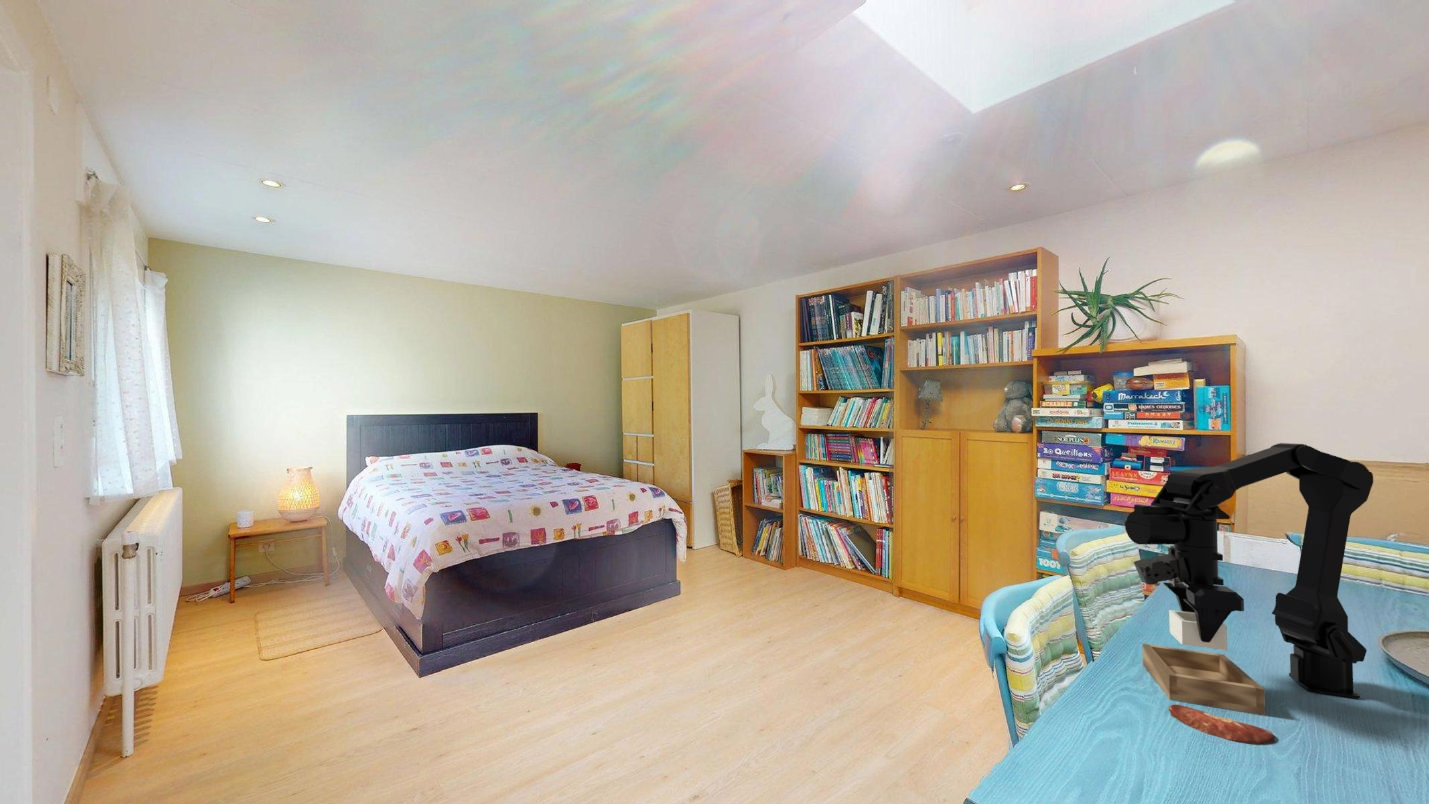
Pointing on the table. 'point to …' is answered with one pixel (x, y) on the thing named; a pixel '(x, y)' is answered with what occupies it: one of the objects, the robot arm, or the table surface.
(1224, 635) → the cream crate
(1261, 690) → the walnut crate
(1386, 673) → the table surface
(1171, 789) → the table surface
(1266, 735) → the steak
